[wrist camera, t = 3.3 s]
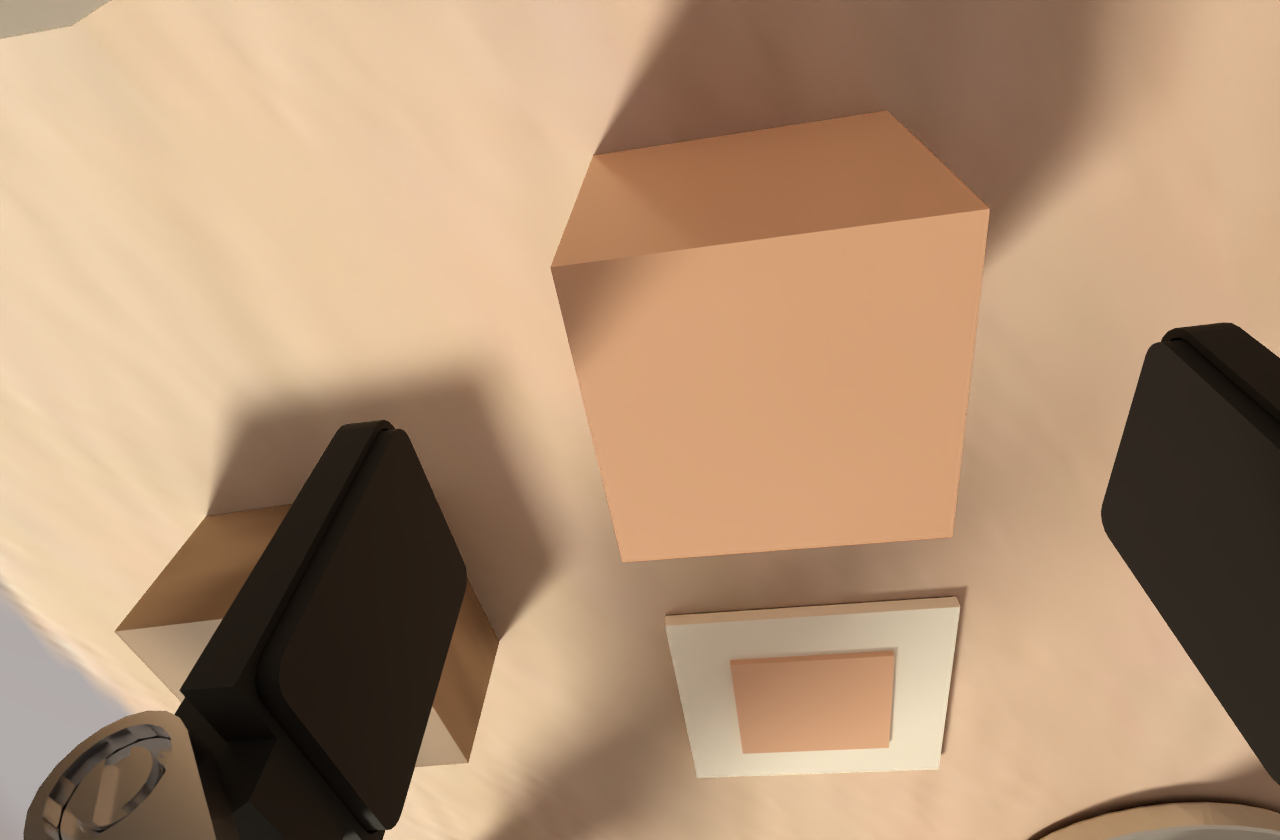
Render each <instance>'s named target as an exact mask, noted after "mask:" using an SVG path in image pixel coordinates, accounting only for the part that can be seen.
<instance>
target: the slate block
mask: <svg viewBox="0 0 1280 840" xmlns="http://www.w3.org/2000/svg"><path fill="white" fill-rule="evenodd" d="M109 1H111V0H0V39H2V38H8V37H13V36H19V35H24V34H30V33H36V32H41V31H47V30H52V29H58V28H63V27H69V26H72V25H74V24H75V23H77V22H78V21H80V20H81V19H83V18H85V17H86V16H88V15H89V14H91V13H92V12H94V11H95V10H97V9H98V8H100V7H101V6H103V5H104V4H106V3H107V2H109Z"/></svg>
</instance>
